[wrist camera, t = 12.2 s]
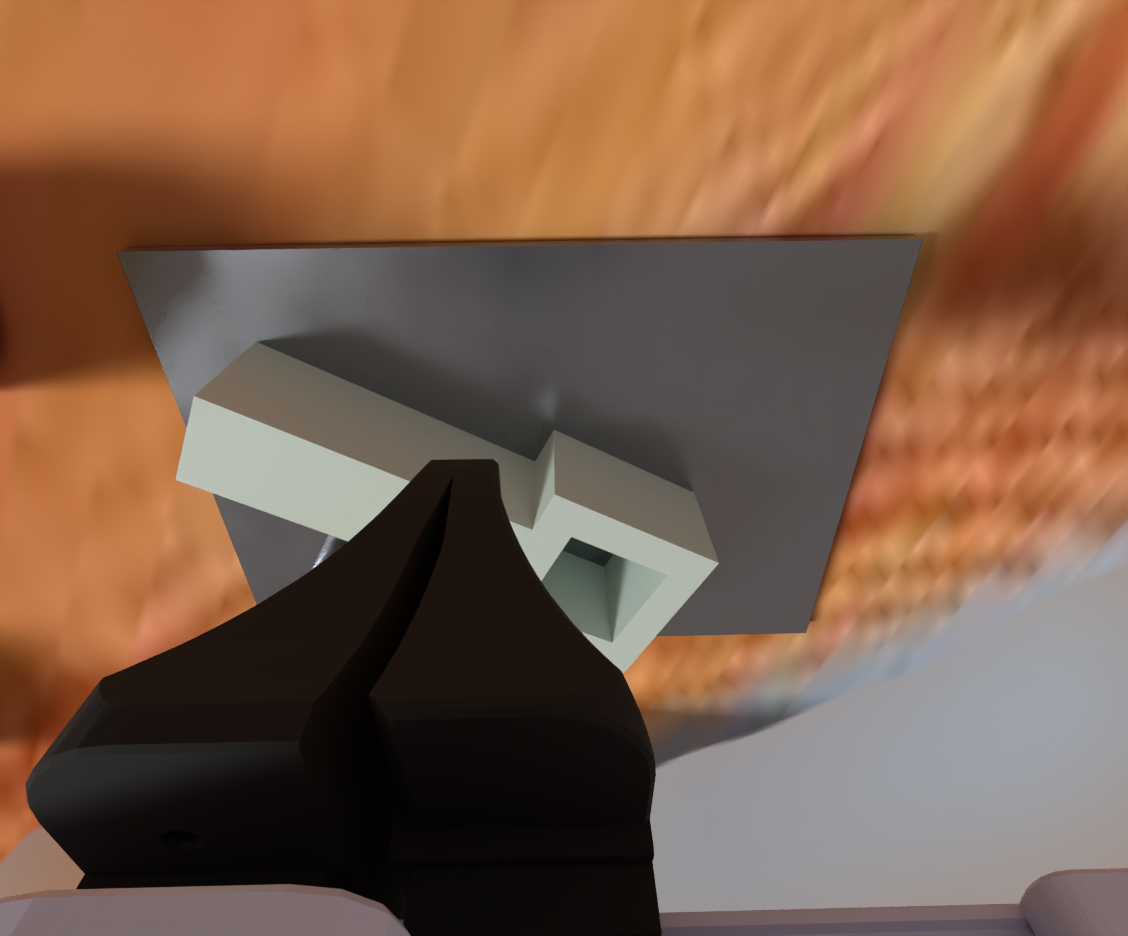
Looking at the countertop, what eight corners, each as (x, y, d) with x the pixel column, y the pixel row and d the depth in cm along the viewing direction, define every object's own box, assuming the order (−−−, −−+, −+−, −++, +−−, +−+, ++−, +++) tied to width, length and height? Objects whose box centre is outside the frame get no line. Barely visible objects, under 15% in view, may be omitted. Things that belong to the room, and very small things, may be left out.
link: (694, 492, 23) (718, 563, 19) (614, 595, 26) (624, 672, 22) (266, 300, 19) (204, 348, 15) (227, 448, 21) (167, 516, 18)
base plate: (801, 622, 28) (805, 632, 27) (278, 634, 27) (273, 645, 27) (912, 234, 18) (923, 238, 18) (128, 247, 18) (116, 251, 18)
